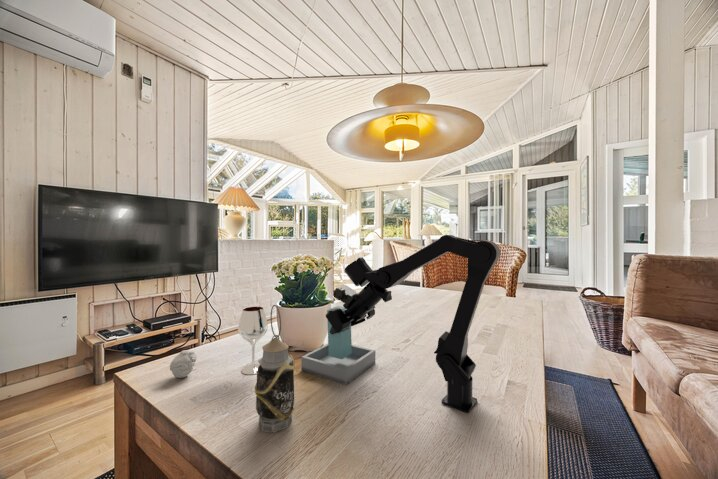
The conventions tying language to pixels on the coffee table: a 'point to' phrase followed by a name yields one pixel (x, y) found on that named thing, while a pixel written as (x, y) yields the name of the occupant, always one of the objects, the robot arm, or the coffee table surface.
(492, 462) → the coffee table surface
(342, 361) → the grey crate
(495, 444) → the coffee table surface
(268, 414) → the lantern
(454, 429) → the coffee table surface
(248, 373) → the wineglass
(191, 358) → the grey rounded lump
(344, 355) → the teal square pillar
